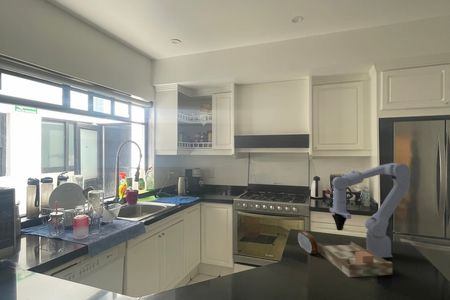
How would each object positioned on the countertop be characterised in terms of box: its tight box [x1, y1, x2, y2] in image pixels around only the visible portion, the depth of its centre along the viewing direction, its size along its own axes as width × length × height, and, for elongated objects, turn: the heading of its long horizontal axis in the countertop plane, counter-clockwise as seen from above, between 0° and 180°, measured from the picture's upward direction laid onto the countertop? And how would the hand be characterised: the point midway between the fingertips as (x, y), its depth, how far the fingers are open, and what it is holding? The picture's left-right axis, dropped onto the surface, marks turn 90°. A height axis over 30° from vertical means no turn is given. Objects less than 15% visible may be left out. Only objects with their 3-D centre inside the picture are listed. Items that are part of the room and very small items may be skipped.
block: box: [355, 251, 374, 263], centre depth 96 cm, size 4×4×4 cm
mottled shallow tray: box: [316, 241, 393, 278], centre depth 105 cm, size 18×24×4 cm
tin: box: [297, 230, 318, 255], centre depth 117 cm, size 15×3×8 cm, turn 9°
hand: (339, 229), depth 117 cm, fingers closed
